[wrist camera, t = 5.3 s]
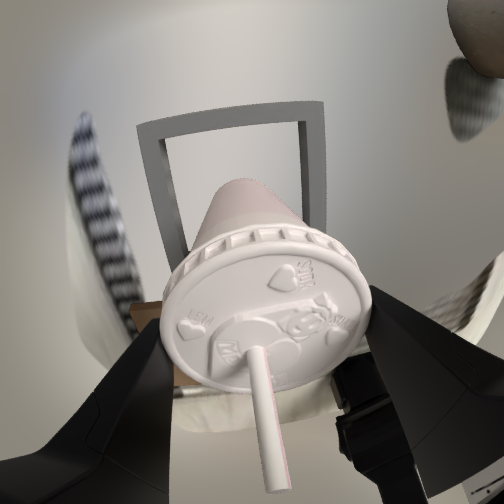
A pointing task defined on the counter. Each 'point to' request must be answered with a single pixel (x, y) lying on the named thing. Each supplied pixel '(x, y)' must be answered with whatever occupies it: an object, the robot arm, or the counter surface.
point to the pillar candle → (479, 33)
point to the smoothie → (262, 308)
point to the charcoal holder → (158, 130)
